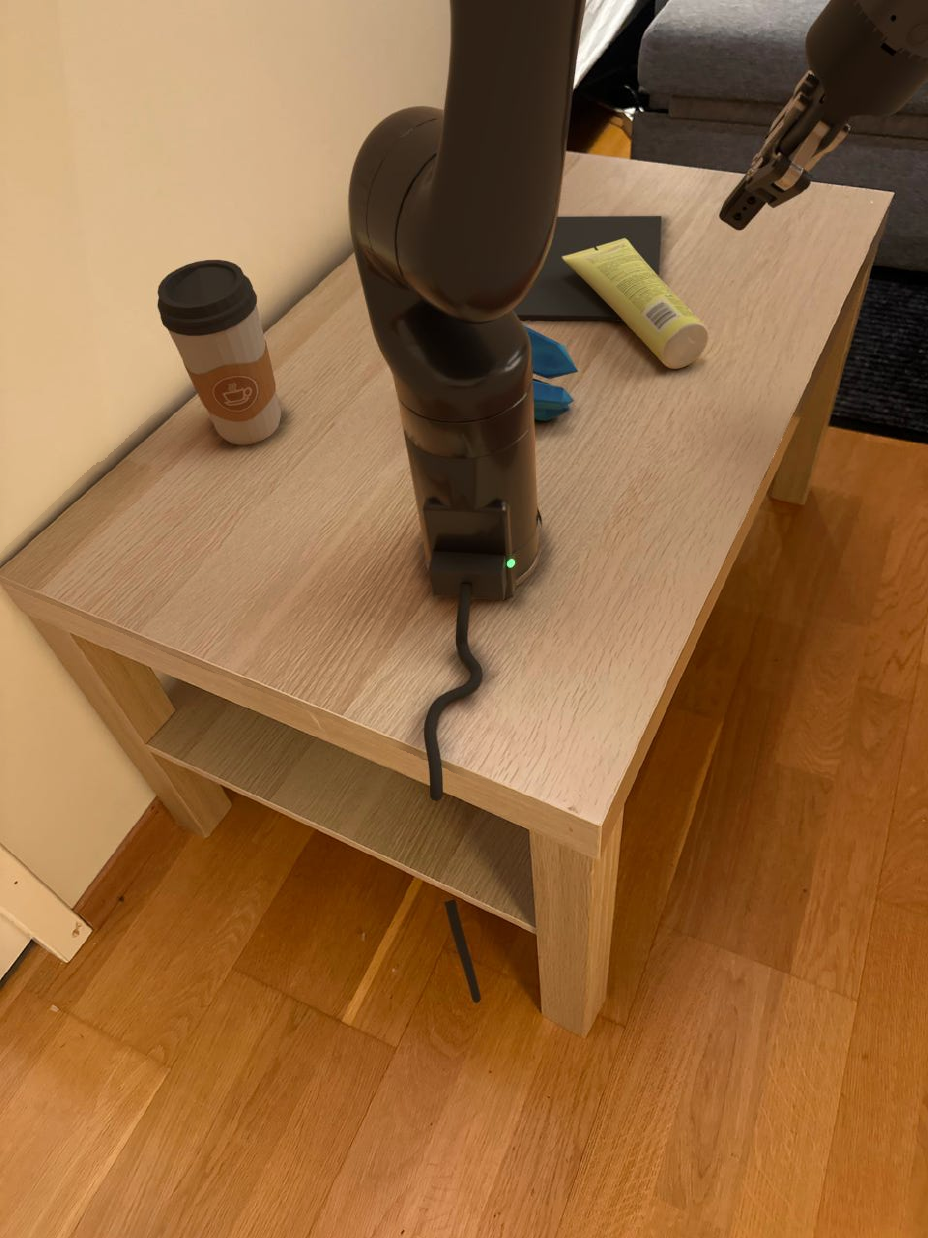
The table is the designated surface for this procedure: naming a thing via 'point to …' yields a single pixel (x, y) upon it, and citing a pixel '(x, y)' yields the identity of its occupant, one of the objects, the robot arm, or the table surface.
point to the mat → (565, 289)
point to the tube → (642, 301)
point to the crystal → (549, 376)
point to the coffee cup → (222, 347)
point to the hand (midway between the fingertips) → (731, 218)
